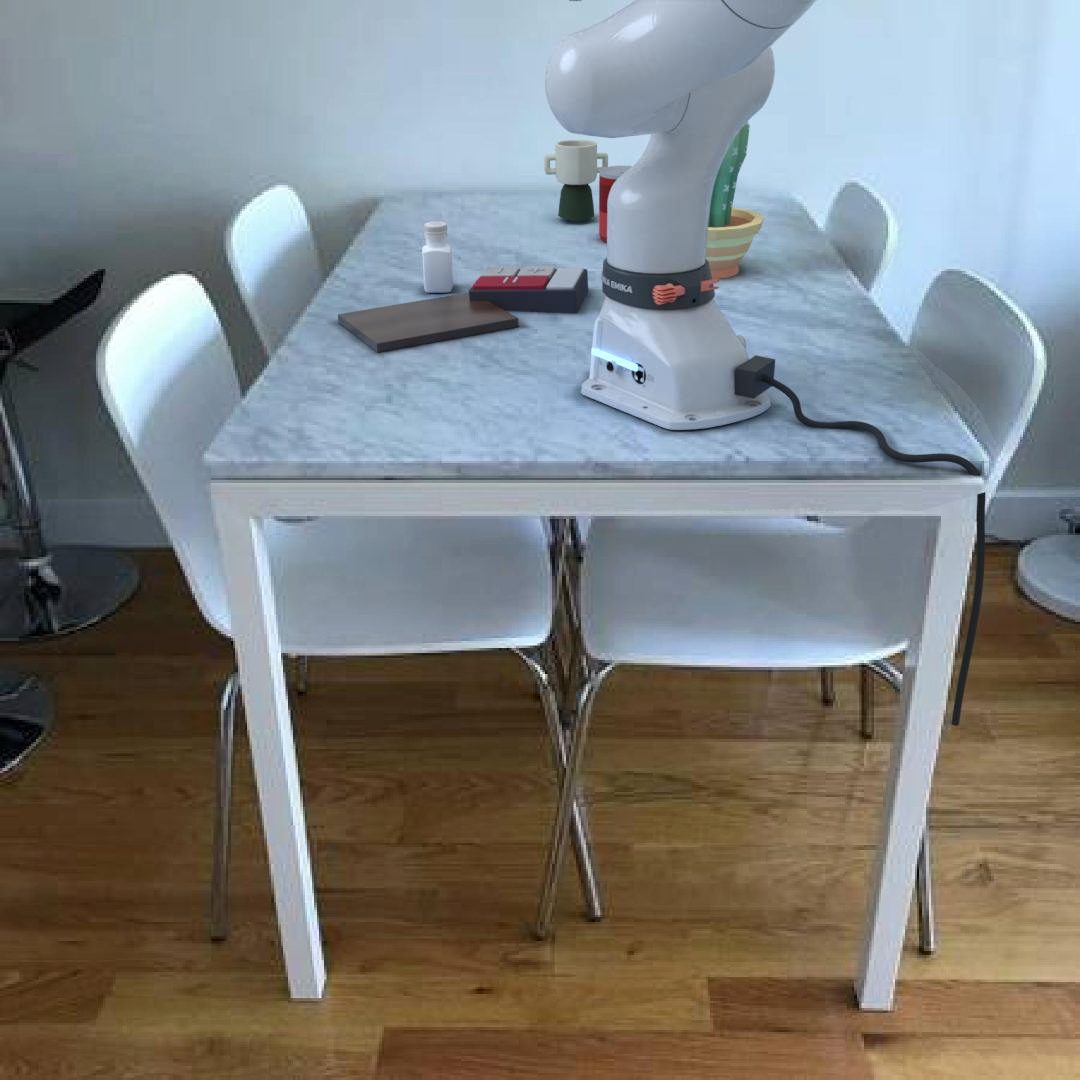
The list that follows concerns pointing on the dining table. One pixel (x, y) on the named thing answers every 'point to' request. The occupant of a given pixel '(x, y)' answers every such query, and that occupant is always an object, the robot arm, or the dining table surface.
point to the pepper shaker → (437, 259)
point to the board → (425, 321)
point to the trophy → (576, 176)
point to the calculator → (532, 288)
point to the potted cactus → (730, 214)
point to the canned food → (607, 194)
